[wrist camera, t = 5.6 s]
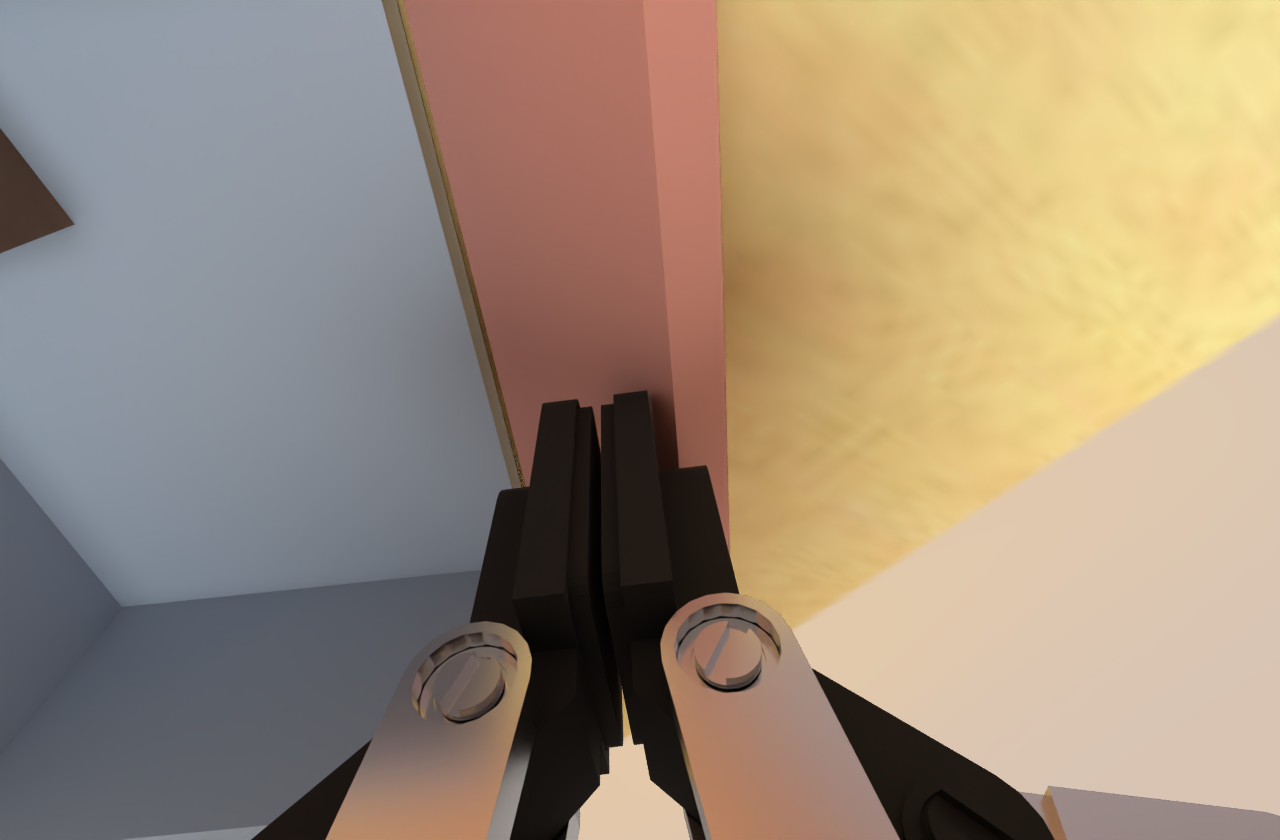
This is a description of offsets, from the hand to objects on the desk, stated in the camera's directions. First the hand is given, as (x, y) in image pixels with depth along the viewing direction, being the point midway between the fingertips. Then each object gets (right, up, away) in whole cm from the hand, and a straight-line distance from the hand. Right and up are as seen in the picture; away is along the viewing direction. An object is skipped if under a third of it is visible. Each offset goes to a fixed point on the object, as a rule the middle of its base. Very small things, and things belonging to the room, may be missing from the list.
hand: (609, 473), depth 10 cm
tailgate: (-3, +3, +5) cm, 6 cm away
